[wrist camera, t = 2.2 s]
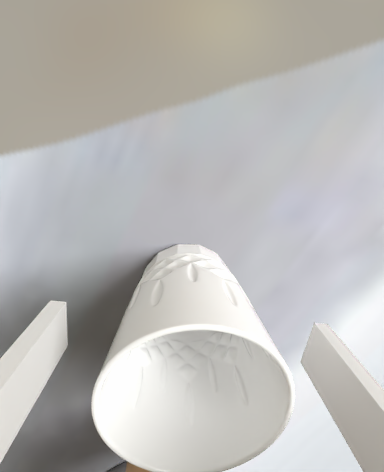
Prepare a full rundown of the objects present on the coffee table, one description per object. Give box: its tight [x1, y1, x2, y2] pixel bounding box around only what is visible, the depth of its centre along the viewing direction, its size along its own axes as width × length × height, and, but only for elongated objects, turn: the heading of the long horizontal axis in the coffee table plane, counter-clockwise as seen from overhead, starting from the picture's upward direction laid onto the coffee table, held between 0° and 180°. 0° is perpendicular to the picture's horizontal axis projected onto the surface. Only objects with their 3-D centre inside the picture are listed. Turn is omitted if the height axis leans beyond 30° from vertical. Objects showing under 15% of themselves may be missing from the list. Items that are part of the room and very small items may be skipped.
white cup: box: [91, 244, 295, 472], centre depth 14 cm, size 8×8×10 cm
